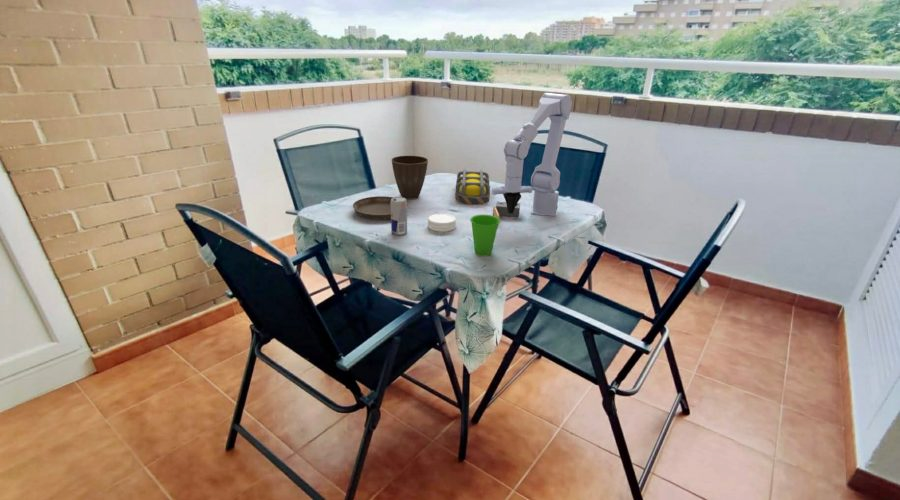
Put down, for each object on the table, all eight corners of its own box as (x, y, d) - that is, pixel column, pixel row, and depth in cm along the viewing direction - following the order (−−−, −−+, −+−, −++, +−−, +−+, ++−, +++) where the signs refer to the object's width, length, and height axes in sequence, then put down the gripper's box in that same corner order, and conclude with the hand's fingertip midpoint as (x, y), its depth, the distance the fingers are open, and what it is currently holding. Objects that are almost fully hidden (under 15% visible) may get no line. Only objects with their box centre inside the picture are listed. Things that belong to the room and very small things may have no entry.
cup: (464, 255, 133) (466, 222, 128) (473, 244, 141) (475, 212, 136) (493, 260, 130) (495, 227, 125) (500, 249, 138) (503, 216, 133)
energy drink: (392, 229, 151) (391, 196, 146) (408, 229, 151) (407, 196, 146) (390, 235, 146) (389, 201, 141) (406, 235, 146) (405, 202, 141)
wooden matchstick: (499, 223, 156) (499, 215, 155) (496, 223, 156) (497, 215, 154) (495, 214, 165) (495, 206, 163) (492, 214, 165) (493, 206, 163)
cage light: (454, 186, 173) (457, 167, 200) (454, 204, 177) (456, 184, 204) (491, 187, 173) (489, 168, 200) (490, 206, 176) (488, 185, 203)
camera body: (519, 212, 169) (520, 201, 167) (518, 219, 163) (519, 207, 161) (494, 210, 171) (495, 199, 169) (492, 216, 164) (493, 205, 162)
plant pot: (413, 189, 194) (412, 153, 187) (435, 197, 184) (435, 160, 177) (385, 195, 184) (384, 158, 178) (407, 204, 175) (406, 165, 168)
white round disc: (453, 221, 160) (453, 212, 158) (458, 231, 151) (458, 222, 149) (426, 222, 158) (426, 213, 156) (429, 233, 149) (429, 223, 147)
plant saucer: (418, 212, 167) (418, 204, 166) (376, 226, 153) (376, 218, 152) (383, 200, 180) (383, 192, 178) (342, 212, 166) (341, 204, 164)
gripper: (528, 171, 155) (524, 207, 161) (490, 173, 151) (487, 210, 157) (536, 177, 149) (532, 214, 155) (497, 178, 145) (494, 216, 151)
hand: (510, 212), depth 155 cm, fingers closed
